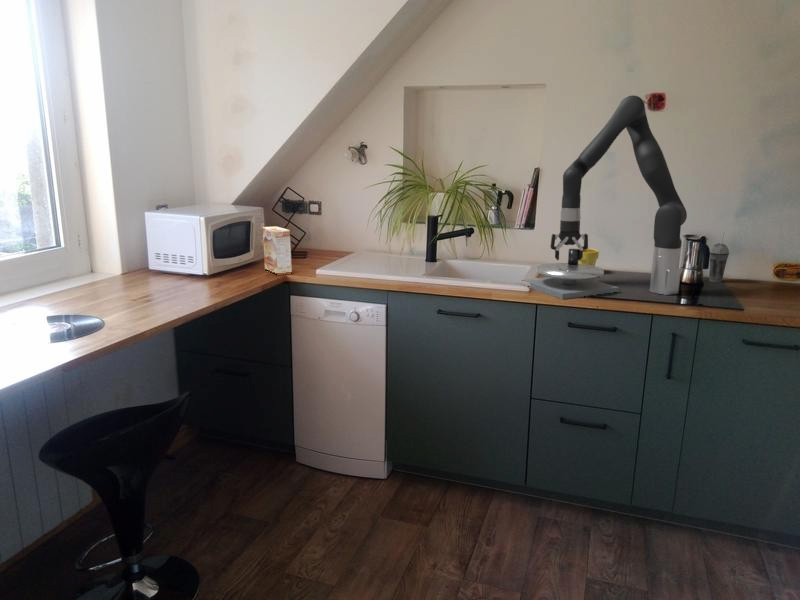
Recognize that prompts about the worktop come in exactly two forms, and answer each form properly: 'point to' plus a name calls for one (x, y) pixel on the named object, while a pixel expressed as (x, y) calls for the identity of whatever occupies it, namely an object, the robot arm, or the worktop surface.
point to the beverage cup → (718, 261)
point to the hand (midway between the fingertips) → (568, 259)
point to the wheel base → (570, 287)
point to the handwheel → (570, 269)
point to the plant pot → (589, 257)
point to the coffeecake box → (277, 249)
